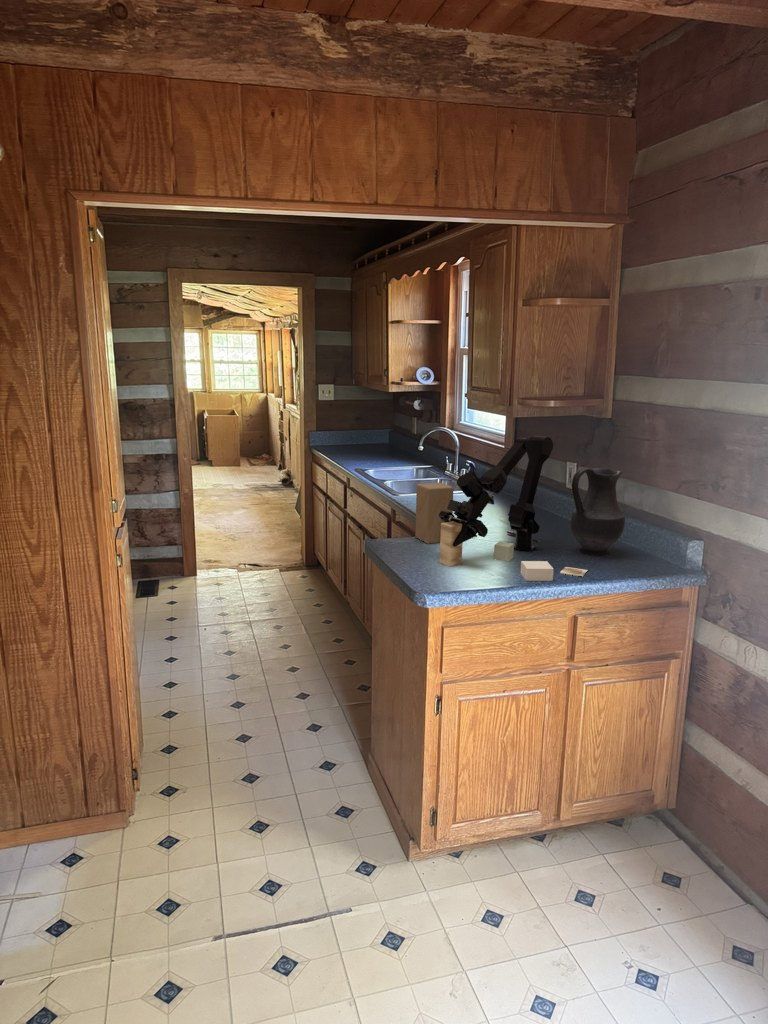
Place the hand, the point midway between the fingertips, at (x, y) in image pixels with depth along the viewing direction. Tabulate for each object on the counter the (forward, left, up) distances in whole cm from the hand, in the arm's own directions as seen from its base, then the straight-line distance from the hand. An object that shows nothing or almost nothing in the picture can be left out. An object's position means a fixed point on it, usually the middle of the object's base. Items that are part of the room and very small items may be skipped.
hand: (447, 543), depth 227 cm
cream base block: (-1, +29, -7) cm, 30 cm away
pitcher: (-36, +38, -7) cm, 53 cm away
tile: (-11, +38, -7) cm, 40 cm away
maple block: (-1, +1, -7) cm, 7 cm away
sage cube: (-15, +14, -7) cm, 22 cm away
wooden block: (-26, -16, -7) cm, 32 cm away
